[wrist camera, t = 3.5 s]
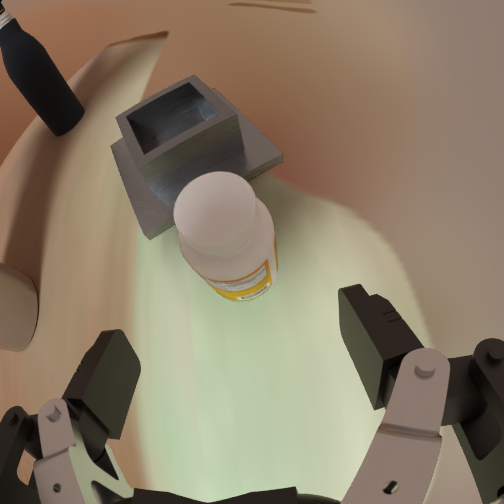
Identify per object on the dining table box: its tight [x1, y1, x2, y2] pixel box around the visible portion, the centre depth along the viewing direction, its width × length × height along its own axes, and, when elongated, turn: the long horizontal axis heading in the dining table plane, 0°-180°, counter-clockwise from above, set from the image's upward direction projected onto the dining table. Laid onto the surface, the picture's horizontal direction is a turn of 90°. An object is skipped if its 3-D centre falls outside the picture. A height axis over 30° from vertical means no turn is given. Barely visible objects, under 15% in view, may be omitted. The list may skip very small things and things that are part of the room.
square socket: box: [111, 75, 283, 240], centre depth 24 cm, size 14×14×6 cm
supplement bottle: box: [174, 171, 278, 302], centre depth 17 cm, size 5×5×10 cm
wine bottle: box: [0, 0, 84, 136], centre depth 20 cm, size 6×6×30 cm
